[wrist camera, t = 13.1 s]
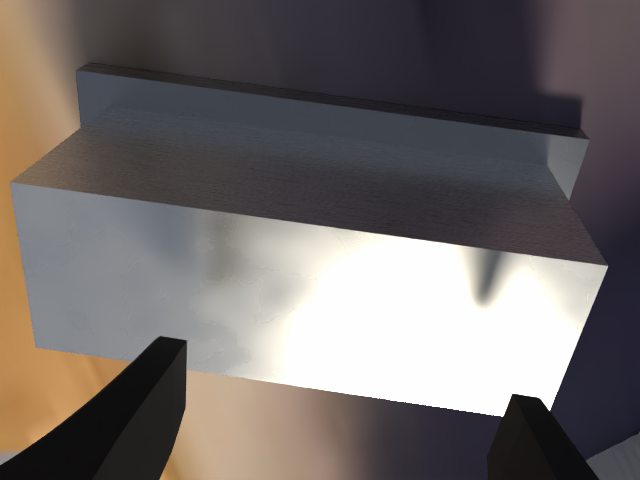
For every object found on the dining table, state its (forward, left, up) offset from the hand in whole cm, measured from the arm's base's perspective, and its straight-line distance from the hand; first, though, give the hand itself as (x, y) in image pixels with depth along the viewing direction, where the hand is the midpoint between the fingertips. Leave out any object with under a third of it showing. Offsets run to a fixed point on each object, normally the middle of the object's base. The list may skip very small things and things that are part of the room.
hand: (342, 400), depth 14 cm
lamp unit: (+1, 0, -9) cm, 10 cm away
